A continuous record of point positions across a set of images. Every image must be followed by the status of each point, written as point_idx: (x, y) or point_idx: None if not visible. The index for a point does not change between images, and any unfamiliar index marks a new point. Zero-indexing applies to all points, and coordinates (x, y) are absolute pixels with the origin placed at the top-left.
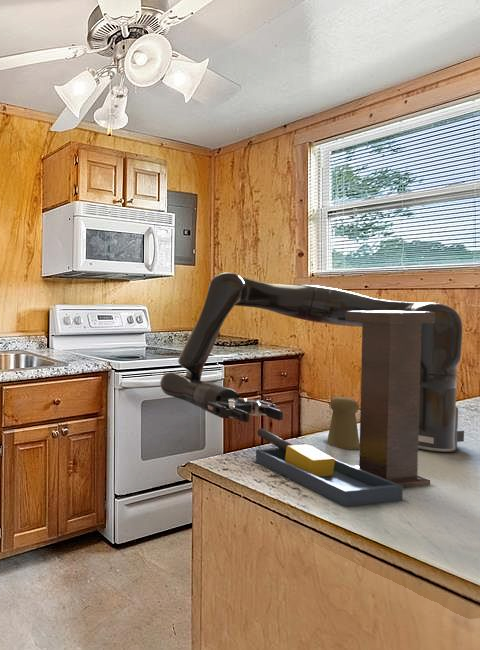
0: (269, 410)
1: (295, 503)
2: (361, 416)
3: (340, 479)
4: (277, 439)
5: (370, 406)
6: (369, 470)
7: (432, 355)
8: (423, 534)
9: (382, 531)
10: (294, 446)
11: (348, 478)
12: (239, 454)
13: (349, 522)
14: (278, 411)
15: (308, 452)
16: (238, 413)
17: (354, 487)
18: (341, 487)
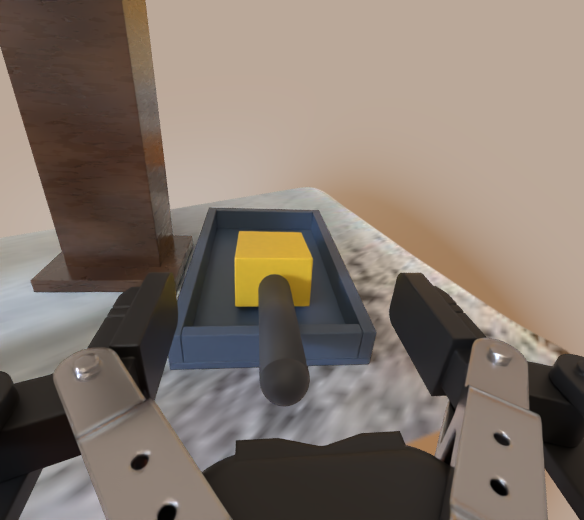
0: (149, 346)
1: (386, 242)
2: (141, 122)
3: None
4: (288, 304)
5: (143, 80)
6: (165, 246)
7: None
8: (281, 203)
9: (321, 209)
10: (294, 254)
11: (219, 261)
12: (403, 427)
13: (344, 218)
14: (171, 277)
15: (280, 242)
16: (454, 304)
17: None
18: (314, 214)
